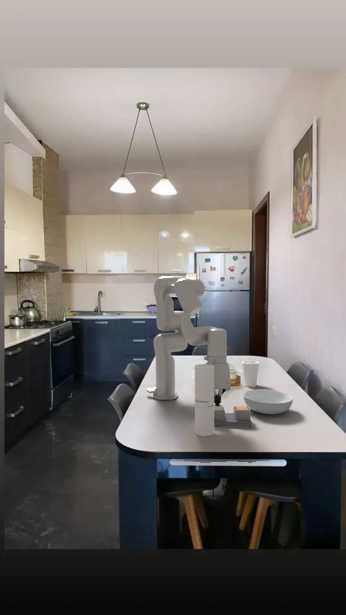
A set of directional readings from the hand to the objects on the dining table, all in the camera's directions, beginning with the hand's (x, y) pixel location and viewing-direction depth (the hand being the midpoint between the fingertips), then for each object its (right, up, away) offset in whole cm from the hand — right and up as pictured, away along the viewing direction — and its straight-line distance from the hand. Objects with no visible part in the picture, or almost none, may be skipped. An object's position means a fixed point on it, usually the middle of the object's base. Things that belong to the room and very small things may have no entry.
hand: (217, 404), depth 145 cm
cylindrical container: (-6, -8, -10) cm, 14 cm away
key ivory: (0, -3, 0) cm, 3 cm away
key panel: (+5, -7, 0) cm, 9 cm away
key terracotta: (+10, -4, 0) cm, 11 cm away
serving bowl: (+24, -7, +14) cm, 28 cm away
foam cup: (+25, -4, +56) cm, 61 cm away
